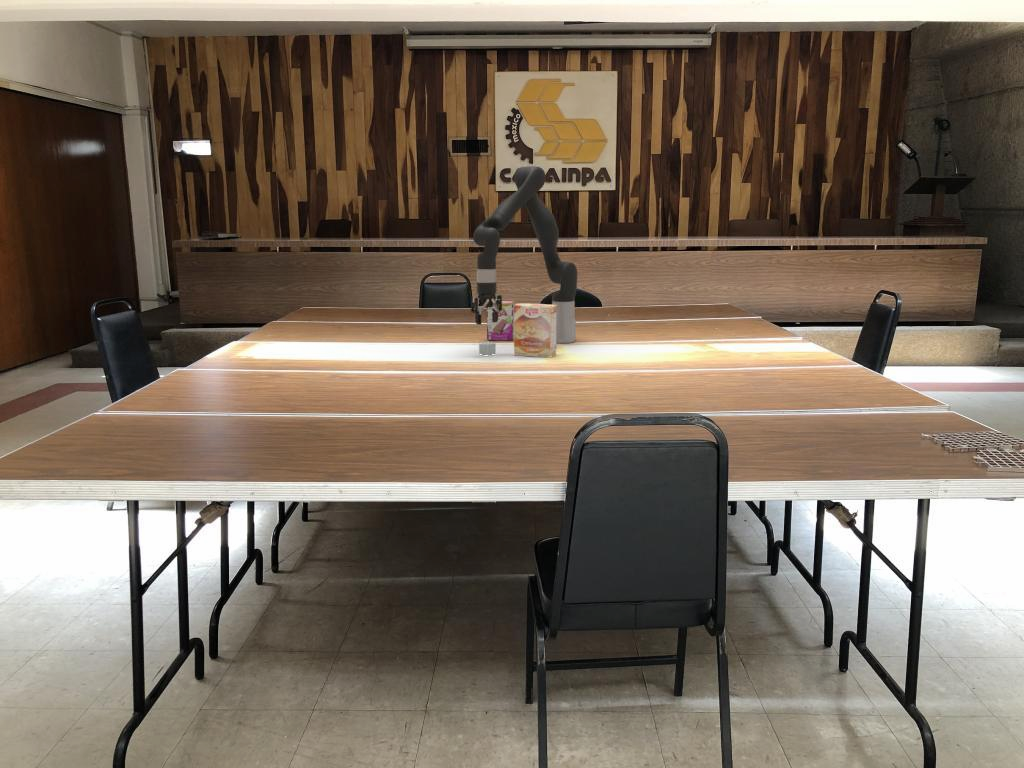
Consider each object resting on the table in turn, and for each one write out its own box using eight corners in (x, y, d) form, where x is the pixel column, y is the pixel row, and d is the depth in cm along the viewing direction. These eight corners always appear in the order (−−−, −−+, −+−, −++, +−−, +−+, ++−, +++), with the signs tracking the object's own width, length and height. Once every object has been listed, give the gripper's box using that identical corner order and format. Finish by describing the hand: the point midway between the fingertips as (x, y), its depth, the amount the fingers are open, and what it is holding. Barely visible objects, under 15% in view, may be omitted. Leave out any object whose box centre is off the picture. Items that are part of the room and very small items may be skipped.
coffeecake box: (513, 355, 326) (513, 304, 322) (520, 352, 333) (520, 302, 329) (550, 358, 321) (550, 306, 316) (556, 354, 327) (556, 304, 323)
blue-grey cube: (487, 353, 331) (487, 342, 330) (495, 354, 328) (495, 343, 327) (479, 355, 328) (479, 343, 327) (487, 356, 325) (487, 344, 324)
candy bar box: (486, 341, 359) (486, 302, 355) (488, 339, 363) (487, 300, 360) (513, 341, 357) (513, 302, 354) (514, 339, 362) (514, 301, 359)
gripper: (493, 279, 329) (493, 320, 333) (466, 281, 319) (466, 324, 323) (506, 280, 324) (506, 322, 328) (479, 282, 314) (480, 326, 318)
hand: (486, 323), depth 325 cm, fingers open, 8 cm apart
